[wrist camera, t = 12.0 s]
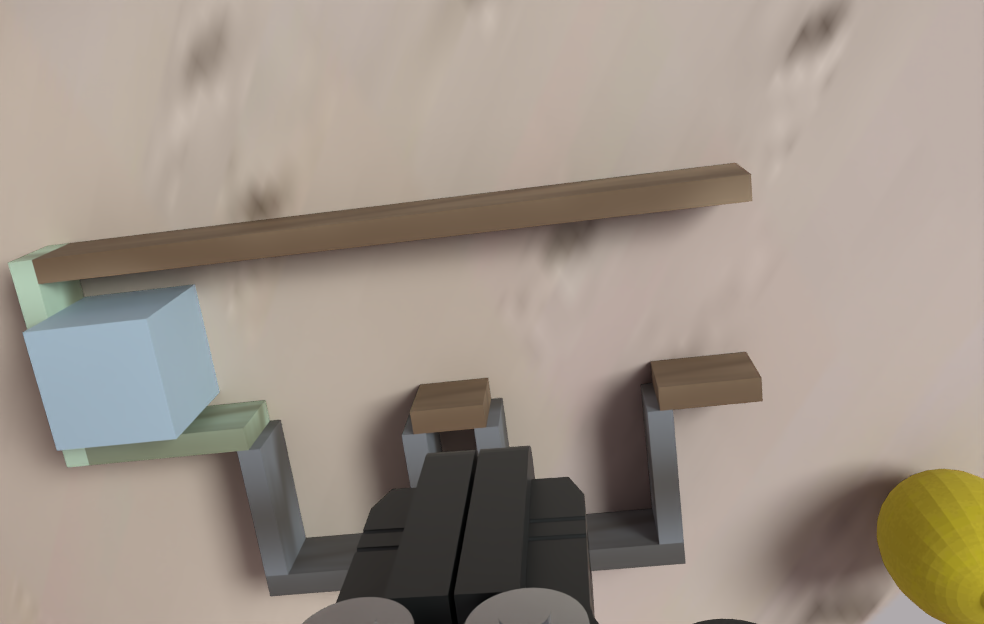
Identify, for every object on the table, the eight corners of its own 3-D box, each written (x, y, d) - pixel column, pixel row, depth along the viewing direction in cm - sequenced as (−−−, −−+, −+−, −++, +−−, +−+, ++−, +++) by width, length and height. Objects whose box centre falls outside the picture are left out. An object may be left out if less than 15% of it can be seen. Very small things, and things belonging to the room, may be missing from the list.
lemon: (869, 565, 41) (941, 687, 34) (838, 459, 40) (906, 561, 32) (995, 532, 41) (1098, 648, 33) (968, 422, 39) (1069, 517, 32)
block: (85, 296, 40) (22, 332, 35) (195, 283, 40) (146, 318, 35) (113, 402, 42) (56, 450, 37) (220, 391, 41) (176, 438, 36)
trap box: (47, 245, 39) (7, 262, 37) (735, 162, 37) (750, 173, 34) (137, 571, 44) (108, 608, 41) (755, 520, 41) (770, 556, 38)
